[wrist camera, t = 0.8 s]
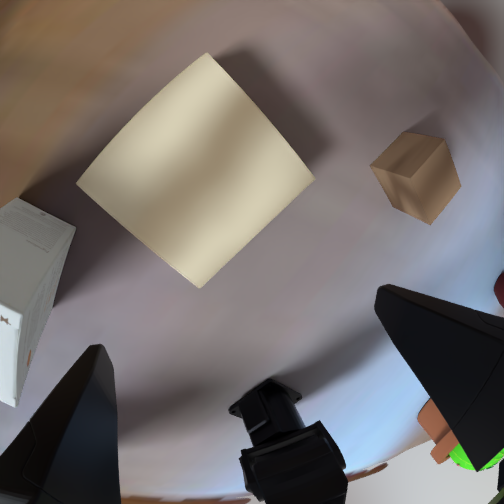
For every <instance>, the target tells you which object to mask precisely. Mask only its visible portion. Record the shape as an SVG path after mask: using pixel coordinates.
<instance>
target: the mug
mask: <svg viewBox="0 0 504 504" xmlns="http://www.w3.org/2000/svg"><path fill="white" fill-rule="evenodd" d="M494 292H495V295H496V297H497V299H498V301H499V303H500V304H501V306H502V307H503V308H504V273H502V274H501V275H500V276H499V278H498V279H497V281H496V284H495V287H494Z"/></svg>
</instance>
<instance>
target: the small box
mask: <svg viewBox="0 0 504 504" xmlns="http://www.w3.org/2000/svg"><path fill="white" fill-rule="evenodd" d="M75 231H76V227H75V226H72V225H70V224H68V223H66V222H64V221H62V220H60V219H58V218H56V217H54V216H52V215H50V214H48V213H46V212H44V211H42V210H40V209H38V208H37V207H35V206H33V205H31V204H29V203H27V202H25V201H23V200H21V199H19V198H15V199H13V200H12V201H11V202H9V203H7V204H6V205H5V206H3V207H2V208H0V401H2V402H4V403H6V404H8V405H11V406H13V407H17V406H18V403H19V400H20V396H21V393H22V390H23V386H24V383H25V380H26V376H27V373H28V370H29V367H30V364H31V361H32V358H33V356H34V353H35V350H36V347H37V345H38V342H39V340H40V337H41V334H42V332H43V330H44V327H45V325H46V322H47V320H48V318H49V315H50V313H51V311H52V307H53V303H54V298H55V295H56V291H57V287H58V283H59V280H60V276H61V273H62V269H63V266H64V263H65V260H66V256H67V253H68V250H69V247H70V244H71V241H72V239H73V236H74V233H75Z"/></svg>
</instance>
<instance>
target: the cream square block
mask: <svg viewBox="0 0 504 504" xmlns="http://www.w3.org/2000/svg"><path fill="white" fill-rule="evenodd" d="M314 180H315V177H314V176H313V175H312V173H311V172H310V171H309V169H308V168H307V167H306V165H305V164H304V163H303V162H302V160H301V159H300V158H299V156H298V155H297V154H296V153H295V151H294V150H293V149H292V148H291V146H290V145H289V144H288V143H287V141H286V140H285V139H284V138H283V136H282V135H281V134H280V133H279V132H278V130H277V129H276V128H275V127H274V126H273V124H272V123H271V122H270V121H269V120H268V118H267V117H266V116H265V115H264V114H263V113H262V111H261V110H260V109H259V108H258V107H257V106H256V105H255V103H254V102H253V101H252V100H251V99H250V98H249V97H248V96H247V94H246V93H245V92H244V91H243V90H242V89H241V88H240V87H239V86H238V84H237V83H236V82H235V81H234V80H233V79H232V78H231V77H230V76H229V75H228V74H227V73H226V72H225V71H224V70H223V68H222V67H221V66H220V65H219V64H218V63H217V62H216V61H215V60H214V59H213V58H212V57H211V56H210V55H209V54H208V53H207V52H206V53H205V54H204V55H202V56H201V57H200V58H199V59H197V60H196V61H195V62H194V63H192V64H191V65H190V66H189V67H187V68H186V69H185V70H184V71H183V72H181V73H180V74H179V75H178V76H177V77H176V78H174V79H173V80H172V81H171V82H170V83H169V84H168V85H167V86H165V87H164V88H163V89H162V90H161V91H160V92H159V93H158V94H157V95H156V96H154V97H153V98H152V99H151V100H150V101H149V102H148V103H147V104H146V105H145V106H144V107H143V108H142V109H141V110H140V111H139V112H138V113H137V114H136V115H135V116H134V117H133V118H132V119H131V120H130V121H129V122H128V123H127V124H126V125H125V126H124V127H123V128H122V129H121V131H120V132H119V133H118V134H117V135H116V136H115V137H114V138H113V139H112V140H111V142H110V143H109V144H108V145H107V146H106V147H105V148H104V149H103V151H102V152H101V153H100V154H99V155H98V156H97V158H96V159H95V160H94V161H93V162H92V164H91V165H90V166H89V167H88V169H87V170H86V171H85V172H84V174H83V175H82V176H81V177H80V179H79V180H78V181H77V182H76V184H77V185H78V186H79V187H80V188H81V189H82V190H83V191H84V192H85V193H86V194H87V195H89V196H90V197H91V198H92V199H93V200H94V201H95V202H96V203H97V204H99V205H100V206H101V207H102V208H103V209H104V210H105V211H106V212H108V213H109V214H110V215H111V216H112V217H113V218H114V219H115V220H117V221H118V222H119V223H120V224H121V225H122V226H124V227H125V228H126V229H127V230H128V231H129V232H130V233H132V234H133V235H134V236H135V237H136V238H138V239H139V240H140V241H141V242H142V243H143V244H145V245H146V246H147V247H148V248H149V249H151V250H152V251H153V252H154V253H155V254H157V255H158V256H159V257H160V258H162V259H163V260H164V261H165V262H166V263H168V264H169V265H170V266H171V267H173V268H174V269H175V270H176V271H178V272H179V273H180V274H181V275H183V276H184V277H185V278H186V279H188V280H189V281H190V282H191V283H193V284H194V285H195V286H197V287H198V288H199V289H200V288H201V287H202V286H203V285H204V284H205V283H206V282H207V281H209V280H210V279H211V278H212V277H213V276H214V275H215V274H216V273H217V272H218V271H219V270H220V269H221V268H222V267H223V266H224V265H225V264H226V263H227V262H228V261H229V260H230V259H231V258H233V257H234V256H235V255H236V254H237V253H238V252H239V251H240V250H241V249H242V248H243V247H244V246H245V245H246V244H247V243H248V242H249V241H250V240H251V239H252V238H253V237H255V236H256V235H257V234H258V233H259V232H260V231H261V230H262V229H263V228H264V227H265V226H266V225H267V224H268V223H269V222H270V221H271V220H272V219H273V218H275V217H276V216H277V215H278V214H279V213H280V212H281V211H282V210H283V209H284V208H285V207H286V206H287V205H288V204H289V203H290V202H291V201H293V200H294V199H295V198H296V197H297V196H298V195H299V194H300V193H301V192H302V191H303V190H304V189H305V188H306V187H307V186H308V185H310V184H311V183H312V182H313V181H314Z"/></svg>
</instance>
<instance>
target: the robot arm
mask: <svg viewBox="0 0 504 504" xmlns="http://www.w3.org/2000/svg"><path fill="white" fill-rule="evenodd" d="M374 309H375V312H376V314H377V316H378V318H379V319H380V321H381V323H382V325H383V326H384V328H385V330H386V331H387V333H388V335H389V337H390V338H391V340H392V342H393V343H394V345H395V347H396V348H397V350H398V351H399V352H400V354H401V355H402V357H403V358H404V359H405V361H406V362H407V364H408V365H409V367H410V368H411V370H412V371H413V372H414V374H415V375H416V377H417V378H418V380H419V381H420V383H421V384H422V386H423V387H424V389H425V390H426V392H427V393H428V395H429V396H430V398H431V399H432V401H433V402H434V404H435V405H436V407H437V408H438V410H439V411H440V413H441V414H442V416H443V418H444V419H445V421H446V422H447V424H448V425H449V427H450V429H451V430H452V432H453V434H454V435H455V437H456V439H457V440H458V442H459V444H460V445H461V447H462V449H463V450H464V452H465V454H466V455H467V457H468V459H469V460H470V462H471V464H472V466H473V467H474V469H475V470H476V472H478V471H479V470H481V469H482V468H483V467H484V466H485V465H486V464H487V463H489V462H490V461H491V460H492V459H493V458H494V457H495V456H496V455H497V454H498V453H499V452H500V451H501V450H502V449H503V448H504V318H503V317H499V316H495V315H491V314H488V313H484V312H481V311H478V310H474V309H471V308H468V307H465V306H461V305H458V304H455V303H451V302H448V301H445V300H441V299H438V298H435V297H431V296H428V295H425V294H421V293H418V292H415V291H411V290H408V289H405V288H401V287H398V286H395V285H391V284H386V285H383V286H380V287H379V288H378V290H377V295H376V300H375V305H374ZM301 399H302V396H301V394H300V393H298V392H296V391H294V390H292V389H290V388H288V387H286V386H284V385H282V384H280V383H278V382H276V381H275V380H273V379H268V380H266V381H265V382H264V383H262V384H261V385H260V386H259V387H257V388H256V389H255V390H253V391H252V392H251V393H249V394H248V395H247V396H245V397H244V398H243V399H241V400H240V401H239V402H237V403H236V404H235V405H233V406H232V407H230V408H229V413H230V414H231V415H234V416H237V417H239V418H242V419H243V422H244V424H245V427H246V430H247V432H248V433H249V436H250V439H251V442H252V444H253V447H252V448H249V449H243V450H241V454H242V456H241V457H240V458H239V460H240V463H241V466H242V470H243V475H244V482H245V488H246V490H247V491H248V492H251V493H253V495H254V496H256V498H257V499H258V501H260V502H261V501H264V500H265V503H266V504H345V500H346V493H347V486H348V480H347V478H346V476H345V474H344V472H343V469H345V468H346V463H345V460H344V458H343V455H342V453H341V451H340V449H339V447H338V446H337V444H336V443H335V441H334V440H333V438H332V437H331V436H330V434H329V433H328V431H327V430H326V428H325V427H324V426H323V424H322V423H321V421H320V420H319V421H317V422H315V423H314V424H312V425H310V426H308V427H306V426H305V425H304V423H303V421H302V419H301V417H300V415H299V413H298V411H297V409H296V407H295V405H294V404H295V403H297V402H298V401H299V400H301ZM497 490H498V491H499V493H498V494H497V495H496V496H495V497H494V498H493V499H492V500H491V501H490V502H489V503H488V504H504V459H503V460H502V461H501V462H500V463H499V476H498V486H497ZM0 504H121V496H120V483H119V468H118V436H117V404H116V393H115V381H114V368H113V365H112V362H111V360H110V358H109V356H108V353H107V351H106V349H105V347H104V346H103V345H102V344H96V345H90V346H89V347H88V348H87V349H86V350H85V352H84V353H83V354H82V355H81V356H80V357H79V359H78V360H77V361H76V362H75V363H74V365H73V366H72V367H71V368H70V369H69V371H68V372H67V373H66V374H65V375H64V377H63V378H62V379H61V380H60V381H59V383H58V384H57V385H56V386H55V388H54V389H53V390H52V391H51V393H50V394H49V395H48V396H47V398H46V399H45V400H44V401H43V403H42V404H41V405H40V407H39V408H38V409H37V410H36V412H35V413H34V414H33V416H32V417H31V418H30V422H29V421H28V422H27V423H26V425H25V426H24V427H23V429H22V430H21V431H20V433H19V434H18V435H17V436H16V438H15V439H14V440H13V442H12V443H11V444H10V445H9V446H8V447H7V449H6V450H5V451H4V452H3V453H2V455H1V456H0Z"/></svg>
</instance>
